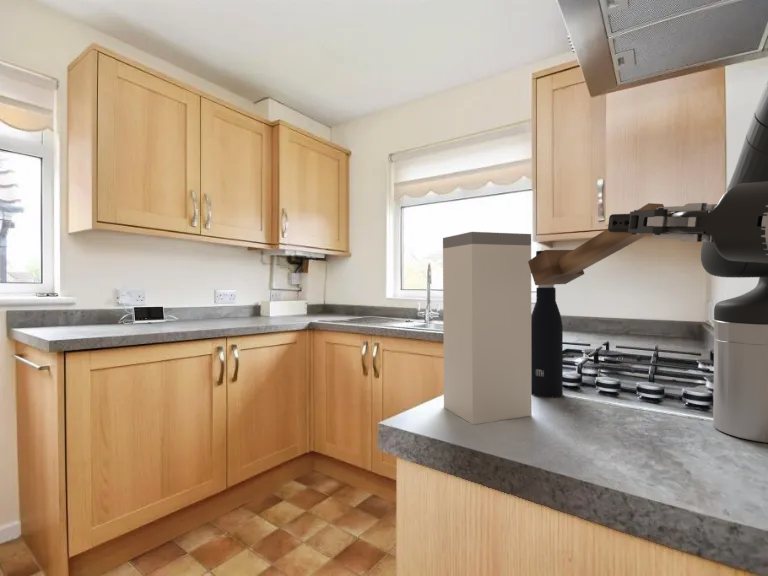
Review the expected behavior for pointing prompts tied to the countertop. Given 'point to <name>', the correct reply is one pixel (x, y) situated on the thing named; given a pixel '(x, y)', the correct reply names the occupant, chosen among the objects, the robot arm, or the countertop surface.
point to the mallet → (580, 256)
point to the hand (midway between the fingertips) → (619, 223)
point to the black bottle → (546, 344)
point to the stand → (487, 326)
